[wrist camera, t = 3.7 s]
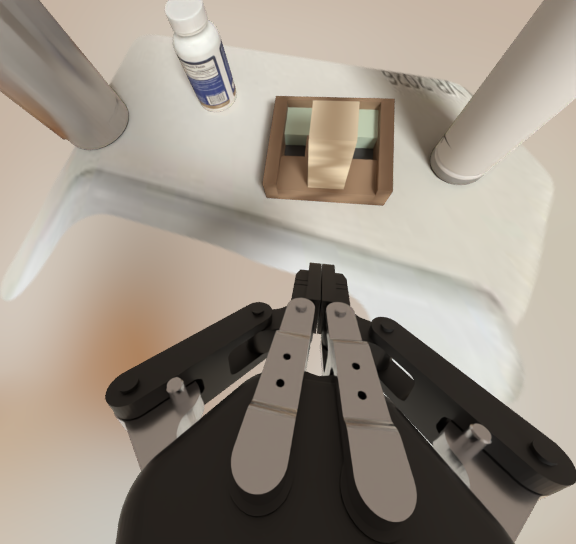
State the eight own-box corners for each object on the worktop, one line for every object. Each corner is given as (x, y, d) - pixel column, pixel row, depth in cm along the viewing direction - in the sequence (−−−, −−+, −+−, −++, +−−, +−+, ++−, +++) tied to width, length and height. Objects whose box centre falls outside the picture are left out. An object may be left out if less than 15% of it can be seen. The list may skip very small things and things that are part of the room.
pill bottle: (212, 78, 33) (176, -20, 24) (244, 90, 32) (219, -7, 23) (193, 106, 32) (146, 16, 23) (224, 119, 32) (190, 31, 22)
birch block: (307, 187, 26) (308, 138, 19) (311, 156, 27) (313, 100, 20) (343, 189, 26) (357, 141, 19) (345, 158, 26) (359, 101, 20)
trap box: (266, 197, 28) (262, 183, 25) (278, 117, 31) (275, 96, 28) (383, 205, 27) (392, 191, 24) (385, 120, 30) (394, 98, 27)
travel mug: (416, 158, 28) (667, -216, 9) (460, 132, 28) (798, -284, 9) (450, 196, 27) (842, -146, 7) (495, 169, 27) (989, -229, 8)
